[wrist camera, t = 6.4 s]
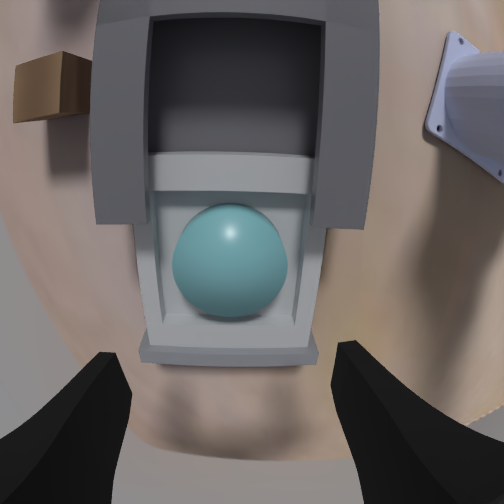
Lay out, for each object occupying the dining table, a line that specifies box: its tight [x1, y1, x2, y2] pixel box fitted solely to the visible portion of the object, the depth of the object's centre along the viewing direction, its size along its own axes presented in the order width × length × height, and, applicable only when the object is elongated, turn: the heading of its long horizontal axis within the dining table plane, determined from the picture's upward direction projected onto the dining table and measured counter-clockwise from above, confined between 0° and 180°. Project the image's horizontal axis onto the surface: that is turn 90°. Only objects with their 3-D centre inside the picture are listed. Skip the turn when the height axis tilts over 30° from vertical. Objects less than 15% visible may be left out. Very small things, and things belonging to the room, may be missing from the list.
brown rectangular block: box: [13, 51, 92, 123], centre depth 12 cm, size 3×3×4 cm
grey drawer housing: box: [90, 0, 380, 230], centre depth 13 cm, size 12×12×5 cm
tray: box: [133, 151, 327, 367], centre depth 17 cm, size 11×12×3 cm
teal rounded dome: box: [172, 203, 288, 317], centre depth 16 cm, size 6×6×2 cm
